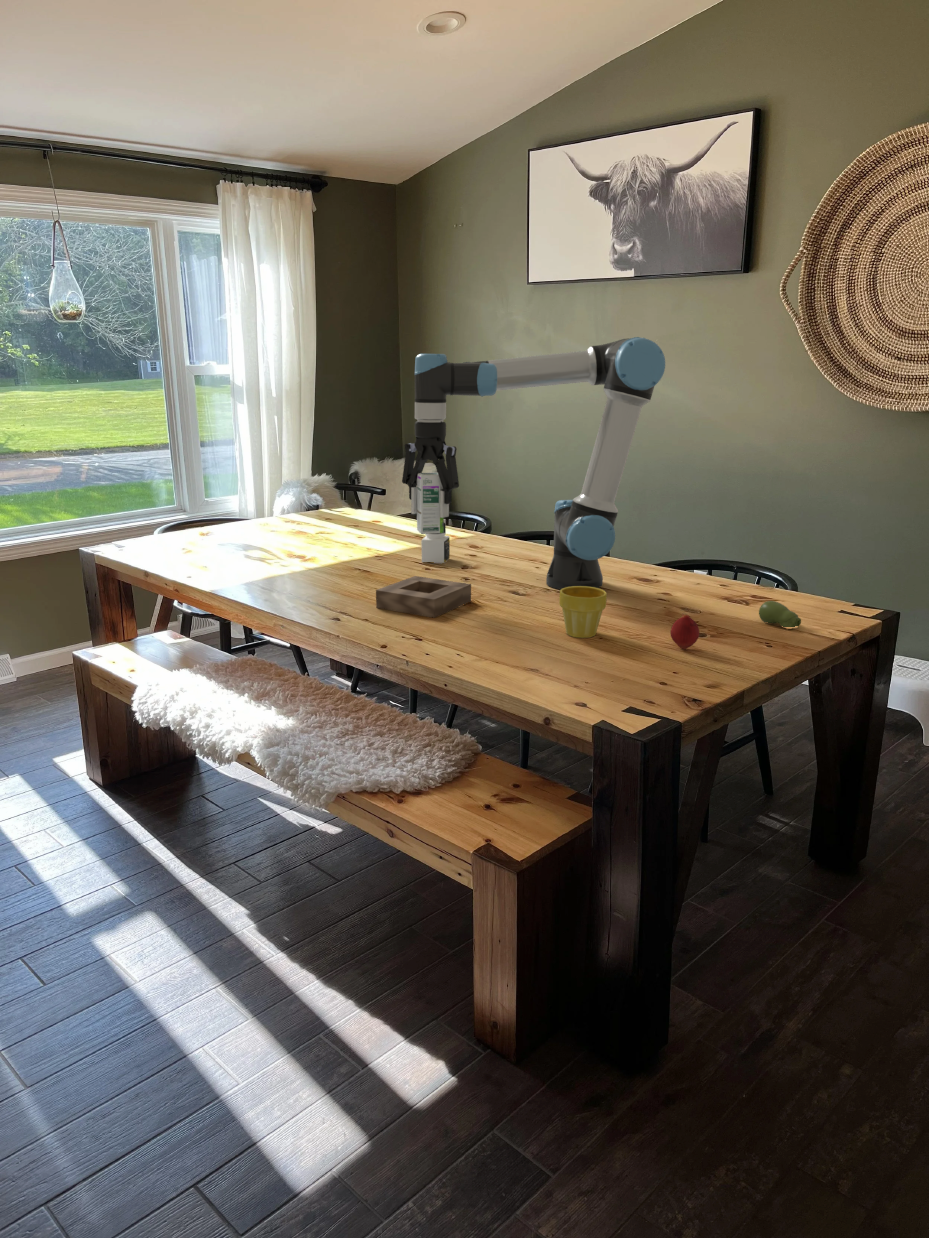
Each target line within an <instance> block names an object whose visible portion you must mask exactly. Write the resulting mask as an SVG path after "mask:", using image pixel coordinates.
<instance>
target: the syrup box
mask: <svg viewBox="0 0 929 1238" xmlns="http://www.w3.org/2000/svg"><path fill="white" fill-rule="evenodd" d="M416 487H417V514H416V530H417V531H418V533H419V534H420V535H426V534H436V533H444V523H445V522H444V519H445V517H444V518H440V491H442V489H443V487H442V484H441V481H440V478H439V475H438V472H422V473H418V474H417V486H416Z"/></svg>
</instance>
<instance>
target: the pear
mask: <svg viewBox="0 0 929 1238" xmlns="http://www.w3.org/2000/svg"><path fill="white" fill-rule="evenodd" d="M758 616H759V619H760V620H761V621H762V622H764V623H765V622H768V623H773V624H779V626H780V627H781V626H783V627H795V626H798V627H799V626H800V625H801V623H802V619H801V618H800V617H799V615H798V614H797V613H796V612H794V611H792V610H790V609H789V608H788V607H787V606H785V605H784V604H782V603H780V602H778V601H775V600H767V601H765V602H763V603H762V604H761V606H760V607H759V610H758ZM768 623H767V624H768Z"/></svg>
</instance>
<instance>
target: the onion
mask: <svg viewBox="0 0 929 1238" xmlns="http://www.w3.org/2000/svg"><path fill="white" fill-rule="evenodd" d="M670 637H671V640H672V641H673V642H674V643H675V644H676V645H677V646H678V647H679V649H680V650H686V649H688V648H691V646H693V645H694V644H696V642H697V641H698V639H699V637H700V628H699V626H698V624H697V622H696V621H695V620H694V619H693V618H692V617H690V615H688V613H687V612H683V613H682V615H681V617H679V618H677V619H676V620H674V622H673V624H672V625H671V629H670Z"/></svg>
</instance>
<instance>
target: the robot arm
mask: <svg viewBox="0 0 929 1238" xmlns="http://www.w3.org/2000/svg"><path fill="white" fill-rule="evenodd" d="M447 358H448V357H447V354H445V353H419V354H417V355H416V356H415V360H414V362H415V363H414V420H417V421H415V422H414V436H415V441H414V442H410V443H405V444H404V451H405V455H404V456H405V457H404V465H403V472H402V477H401V478H402V479H401V482H402V483H403V484H405V485H407V486H408V499H409V500H410V501H411V502H410V503H411V508H410V509H411V512H410V514H411V515H417V474H418V473H423V471H424V467H425V465H426V463H427V462H428V460H429V461H432V463H433V465H434V466H435V468H436V473H438V475H439V478H440V481H441V484H442V487H443V489H442V491H440V518H444V519H445V518H448V517H449V516H450V504H452V495H453V494H452V493H453V490H454V489H457V488H459V487H460V483H459V473H458V467H457V466H458V465H457V459H456V458H457V457H456V454H457V447H456V446H451V445H447V443H446V435H447V423H446V421H444V420H446V419H447V396H466V397H467V396H470V397H472V396H473V397H479V396H480V397H486V396H488V397H489V396H495V394H496V393H497V392H498V391H506V390H507V391H508V390H517V389H527V388H537V387H538V388H539V387H548V386H556V385H557V386H558V385H569V384H578V383H579V384H580V383H588V384H589V385H590V386H598V385H599V386H600V385H601V386H602V385H603V393H604V394H605V396H606V398H607V399H606V401H605V406H604V409H603V413H602V415H601V420H600V423H599V427H598V430H597V435H596V438H595V441H594V445H593V449H592V451H591V452H592V453H591V454H590V455H591V456H590V459H589V463H588V466H587V471H586V474H585V478H584V482H583V484H582V488H581V492H580V494H579V495H577V496H575V497H574V498H573V499H560V500H557V501H556V502H555V505H554V506H555V507H554V510H553V514H554V523H553V524H554V529H553V530H554V531H553V557H552V559H551V562H550V565H549V568H548V571H547V573H546V579H545V580H546V582H545V583H546V585H547V586H548V587H551V588H553V589H557V590H561V589H563V588H566V587H571V586H587V587H595V588H599V589H601V587H603V582H604V581H603V579H604V577H603V573H602V569H601V566H600V562H599V560H600V559H601V558H603V557H606V555H607V554H608V553H610V551H612V549H613V547H614V544H615V542H616V529H615V527H614V526H615V524H616V520H617V517H618V514H619V509H618V508H617V506H616V504H615V502H616V501H615V500H616V498H617V494H618V492H619V491H618V490H619V488H620V487H619V486H620V485H621V484H620V483H621V481H622V477H623V473H624V470H625V468H626V462H627V460H628V456H629V453H630V449H631V446H632V442H633V439H634V435H635V433H636V429H637V425H638V423H639V422H638V421H639V419H640V415H641V412H642V408H643V407H644V406H645V405H647V404H648V403H650V402H651V400H652V399H651V398H652V396H653V393H654V389H655V386H657V384H658V383H659V382H660V381H661V380H662V378H663V375H664V374H665V371H666V358H665V354H664V352H663V350H662V348H661V347H660V346H659V345H658V343H656V342H655V341H653V340H651V339H648V338H646V337H639V336H635V337H630V338H623V339H619V340H614V341H612V342H608V343H605V344H604V343H603V344H598V345H590V346H589V347H588V348H587V349H585V350H582V351H581V350H579V351H570V352H561V353H550V354H541V355H530V356H522V357H521V356H520V357H519V356H518V357H512V358H511V357H510V358H501V359H500V358H498V359H489V360H480V361H479V360H478V361H472V362H471V361H466V362H465V361H464V362H450V361H448V359H447ZM416 452H417V455H416ZM444 454H445V456H444Z"/></svg>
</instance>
